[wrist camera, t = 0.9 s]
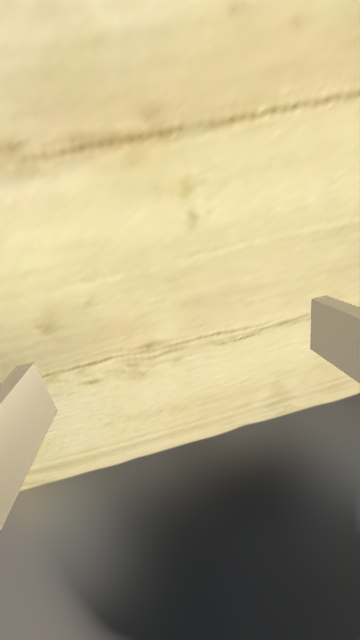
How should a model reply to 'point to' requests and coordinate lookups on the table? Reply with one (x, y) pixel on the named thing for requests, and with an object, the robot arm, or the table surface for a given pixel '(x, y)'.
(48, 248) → the table surface
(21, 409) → the robot arm
